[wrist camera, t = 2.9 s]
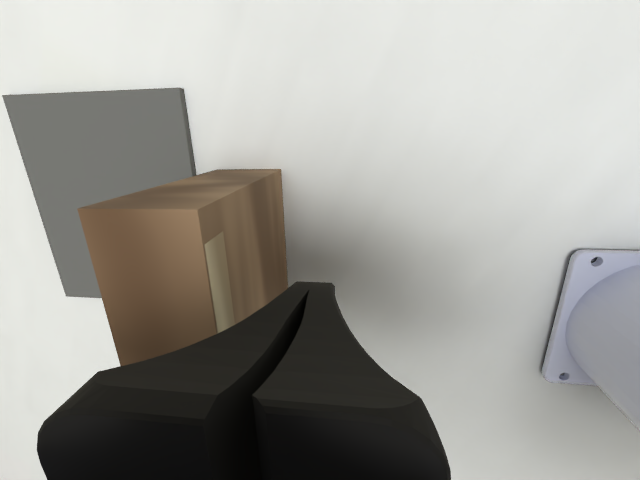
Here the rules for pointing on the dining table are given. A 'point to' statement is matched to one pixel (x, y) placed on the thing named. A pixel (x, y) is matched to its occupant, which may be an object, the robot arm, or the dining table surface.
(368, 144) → the dining table surface
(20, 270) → the dining table surface
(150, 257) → the walnut slab
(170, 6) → the dining table surface
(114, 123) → the rubber mat
